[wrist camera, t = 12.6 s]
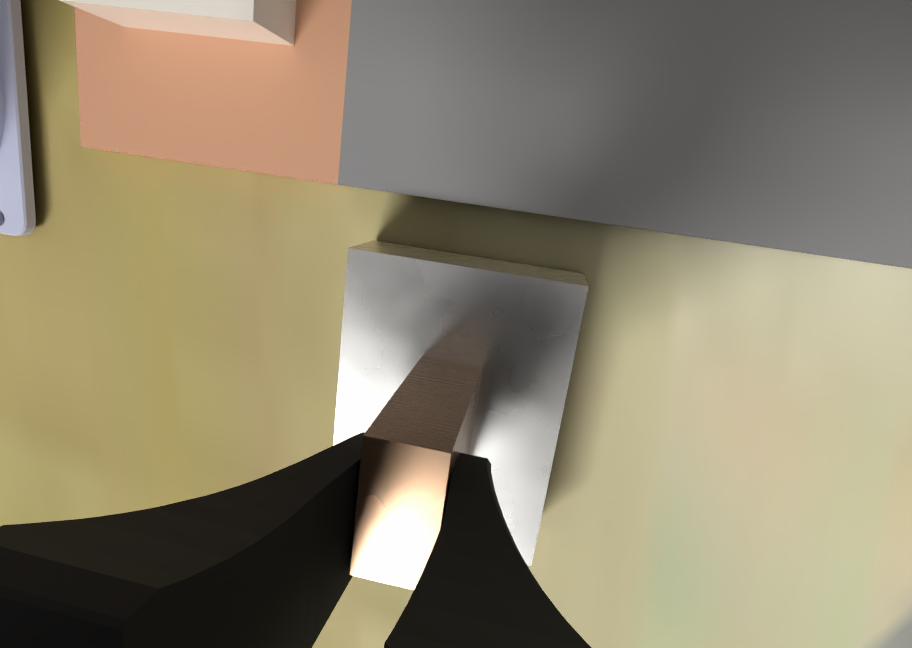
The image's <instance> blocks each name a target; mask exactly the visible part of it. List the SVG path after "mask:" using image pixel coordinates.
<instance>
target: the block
mask: <svg viewBox="0 0 912 648" xmlns="http://www.w3.org/2000/svg"><path fill="white" fill-rule="evenodd" d="M59 1H62V2H64V3H67V4H69V5H72V6H74V7H77V8H79V9H82V10H84V11H87V12H89V13H91V14H94V15H96V16H99V17H101V18H104V19H106V20H109V21H111V22H114V23H116V24H119V25H121V26H124V27H132V28H141V29H150V30H159V31H168V32H176V33H185V34H194V35H203V36H212V37H221V38H230V39H239V40H248V41H257V42H265V43H274V44H283V45H292V46H294V36H295V17H296V0H59Z"/></svg>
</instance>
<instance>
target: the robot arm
mask: <svg viewBox="0 0 912 648" xmlns="http://www.w3.org/2000/svg"><path fill="white" fill-rule="evenodd" d="M3 214H4V217H5V221H4V218H3ZM35 225H36V215H35V201H34V187H33V172H32V158H31V144H30V129H29V115H28V101H27V86H26V72H25V58H24V43H23V29H22V15H21V0H0V233H1V234H7V235H13V236H18V235H29V234H30V233H32V232H33V231H34V229H35ZM363 434H364V432H362V433H359V434H357V435H354V436H352V437H350V438H348V439H346V440H344V441H342V442H340V443H338V444H336V445H334V446H332V447H330V448H328V449H325V450H323V451H321V452H319V453H317V454H315V455H313V456H311V457H309V458H307V459H305V460H302V461H300V462H298V463H296V464H293V465H291V466H288V467H286V468H284V469H281V470H279V471H276V472H274V473H272V474H269V475H267V476H265V477H262V478H259V479H257V480H254V481H251V482H248V483H246V484H243V485H240V486H237V487H233V488H230V489H227V490H224V491H221V492H217V493H214V494H210V495H207V496H203V497H199V498H194V499H190V500H186V501H182V502H177V503H173V504H169V505H165V506H160V507H156V508H150V509H145V510H139V511H133V512H128V513H121V514H114V515H107V516H101V517H93V518H85V519H76V520H64V521H53V522H41V523H29V524H16V525H3V526H1V527H0V648H312V646H313V644H314V643H315V641H316V639H317V637H318V636H319V634H320V632H321V630H322V629H323V627H324V625H325V623H326V622H327V620H328V618H329V616H330V615H331V613H332V611H333V609H334V608H335V606H336V604H337V602H338V601H339V599H340V597H341V595H342V594H343V592H344V590H345V588H346V587H347V585H348V583H349V581H350V580H351V578H352V575H350V569H351V558H352V548H353V537H354V526H355V515H356V504H357V493H358V483H359V472H360V461H361V450H362V439H363ZM384 648H591V647H590V646H589V645H588V644H587V643H586V642H585V641H584V640H583V638H582V637H581V636H580V635H579V634H578V633H577V632H576V631H575V630H574V629H573V627H572V626H571V625H570V624H569V623H568V622H567V621H566V620H565V618H564V617H563V616H562V615H561V614H560V612H559V611H558V610H557V608H556V607H555V606H554V604H553V603H552V602H551V601H550V599H549V598H548V597H547V595H546V594H545V593H544V591H543V590H542V588H541V587H540V585H539V584H538V582H537V581H536V579H535V578H534V576H533V575H532V573H531V571H530V570H529V568H528V566H527V564H526V563H525V561H524V559H523V557H522V556H521V554H520V552H519V550H518V548H517V546H516V544H515V542H514V540H513V537H512V535H511V533H510V531H509V529H508V526H507V524H506V521H505V519H504V516H503V513H502V510H501V508H500V505H499V502H498V499H497V496H496V492H495V488H494V484H493V479H492V473H491V463H490V461H489V460H488V458H484V457H479V456H474V455H469V454H465V453H460V455H459V456H458V458H457V460H456V462H455V465H454V467H453V471H452V476H451V482H450V488H449V494H448V499H447V505H446V511H445V516H444V519H443V523H442V527H441V529H440V532H439V534H438V537H437V539H436V542H435V544H434V547H433V549H432V552H431V554H430V556H429V559H428V561H427V563H426V566H425V568H424V570H423V573H422V575H421V577H420V579H419V581H418V583H417V585H416V587H415V589H414V591H413V594H412V596H411V598H410V600H409V602H408V604H407V606H406V607H405V609H404V611H403V613H402V615H401V616H400V618H399V620H398V622H397V623H396V625H395V627H394V629H393V631H392V632H391V634H390V635H389V637H388V639H387V640H386V642H385V645H384Z"/></svg>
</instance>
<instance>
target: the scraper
mask: <svg viewBox="0 0 912 648" xmlns="http://www.w3.org/2000/svg"><path fill="white" fill-rule="evenodd" d="M588 288H589V286H588V283H587V281H586V279H585V276H584V274H583V273H578V272H571V271H565V270H558V269H552V268H546V267H539V266H533V265H527V264H520V263H514V262H508V261H501V260H495V259H488V258H482V257H476V256H469V255H463V254H457V253H450V252H444V251H438V250H431V249H425V248H418V247H412V246H406V245H399V244H393V243H387V242H380V241H374V240H373V241H370V242H367V243H363V244H360V245H357V246H353V247H350V248H348V255H347V269H346V282H345V295H344V308H343V322H342V335H341V348H340V361H339V375H338V388H337V401H336V414H335V428H334V441H333V446H334V445H336V444H338V443H340V442H342V441H344V440H346V439H348V438H350V437H352V436H354V435H357V434H359V433H362V432H364V434H363V439H362V450H361V461H360V472H359V483H358V493H357V504H356V515H355V526H354V537H353V548H352V558H351V569H350V575H352V576H357V577H361V578H365V579H369V580H373V581H377V582H381V583H385V584H389V585H393V586H398V587H402V588H406V589H410V590H414V589H415V587H416V585H417V583H418V581H419V579H420V577H421V575H422V573H423V570H424V568H425V566H426V563H427V561H428V559H429V556H430V554H431V552H432V549H433V547H434V544H435V542H436V539H437V537H438V534H439V532H440V529H441V527H442V523H443V519H444V516H445V511H446V505H447V499H448V494H449V488H450V482H451V476H452V471H453V467H454V465H455V462H456V460H457V458H458V456H459V455H460V453H465V454H469V455H474V456H479V457H484V458H488V460H489V461H490V463H491V473H492V479H493V484H494V488H495V492H496V496H497V499H498V502H499V505H500V508H501V510H502V513H503V516H504V519H505V521H506V524H507V526H508V529H509V531H510V533H511V535H512V537H513V540H514V542H515V544H516V546H517V548H518V550H519V552H520V554H521V556H522V557H523V559H524V561H525V563H526V564H527V565H529V566H531V565H532V560H533V555H534V550H535V546H536V541H537V536H538V531H539V526H540V521H541V516H542V512H543V507H544V502H545V497H546V492H547V487H548V482H549V478H550V473H551V468H552V463H553V458H554V453H555V449H556V444H557V439H558V434H559V429H560V424H561V419H562V415H563V410H564V405H565V400H566V395H567V390H568V385H569V381H570V376H571V371H572V366H573V361H574V356H575V351H576V347H577V342H578V337H579V332H580V327H581V322H582V318H583V313H584V308H585V303H586V298H587V293H588Z"/></svg>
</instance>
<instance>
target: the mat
mask: <svg viewBox="0 0 912 648" xmlns="http://www.w3.org/2000/svg"><path fill="white" fill-rule="evenodd" d="M75 25H76V46H77V68H78V90H79V112H80V133H81V147H85V148H92V149H99V150H106V151H113V152H120V153H126V154H133V155H140V156H147V157H154V158H161V159H167V160H174V161H181V162H188V163H195V164H201V165H208V166H215V167H222V168H229V169H236V170H242V171H249V172H256V173H263V174H270V175H276V176H283V177H290V178H297V179H304V180H311V181H317V182H324V183H331V184H338V185H345V186H352V187H358V188H365V189H372V190H379V191H386V192H393V193H399V194H406V195H413V196H420V197H427V198H433V199H440V200H447V201H454V202H461V203H468V204H474V205H481V206H488V207H495V208H502V209H509V210H515V211H522V212H529V213H536V214H543V215H549V216H556V217H563V218H570V219H577V220H584V221H590V222H597V223H604V224H611V225H618V226H625V227H631V228H638V229H645V230H652V231H659V232H665V233H672V234H679V235H686V236H693V237H700V238H706V239H713V240H720V241H727V242H734V243H741V244H747V245H754V246H761V247H768V248H775V249H781V250H788V251H795V252H802V253H809V254H816V255H822V256H829V257H836V258H843V259H850V260H857V261H863V262H870V263H877V264H884V265H891V266H897V267H904V268H911V269H912V0H296V17H295V36H294V46H292V45H283V44H274V43H265V42H257V41H248V40H239V39H230V38H221V37H212V36H203V35H194V34H185V33H176V32H168V31H159V30H150V29H141V28H132V27H124V26H121V25H119V24H116V23H114V22H111V21H109V20H106V19H104V18H101V17H99V16H96V15H94V14H91V13H89V12H87V11H84V10H82V9H79V8H77V7H75Z"/></svg>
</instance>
